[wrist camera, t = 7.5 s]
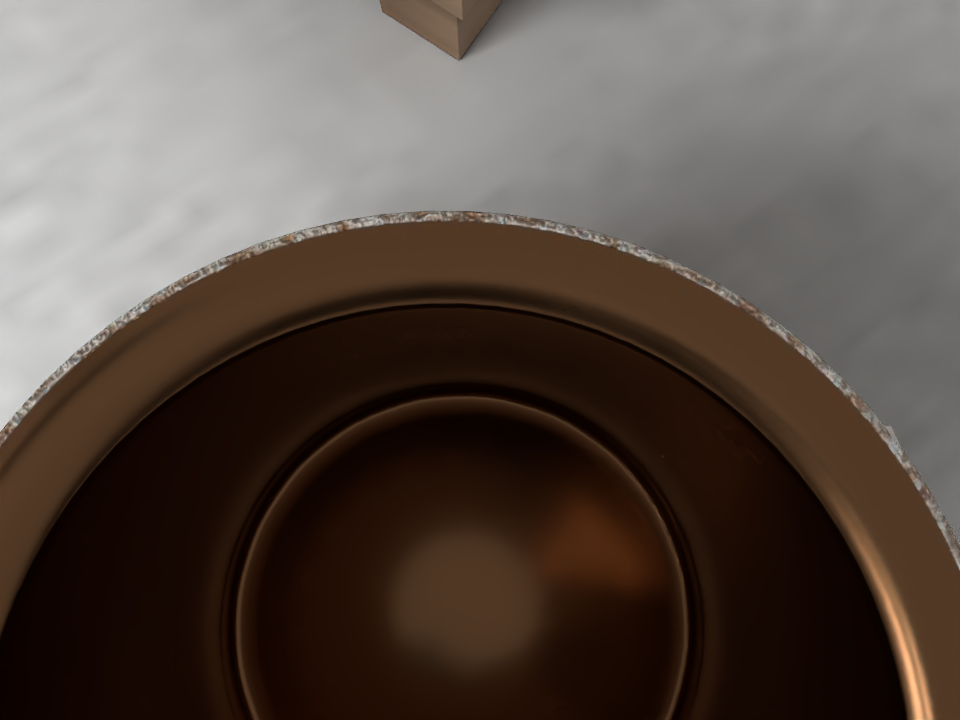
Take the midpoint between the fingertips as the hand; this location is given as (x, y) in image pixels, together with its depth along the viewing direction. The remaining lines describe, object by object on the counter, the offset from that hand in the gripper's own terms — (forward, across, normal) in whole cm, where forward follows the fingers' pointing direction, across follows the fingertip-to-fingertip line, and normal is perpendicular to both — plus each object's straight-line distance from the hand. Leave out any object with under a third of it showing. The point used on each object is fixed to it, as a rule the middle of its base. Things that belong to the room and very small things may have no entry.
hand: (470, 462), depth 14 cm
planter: (+1, 0, -5) cm, 5 cm away
